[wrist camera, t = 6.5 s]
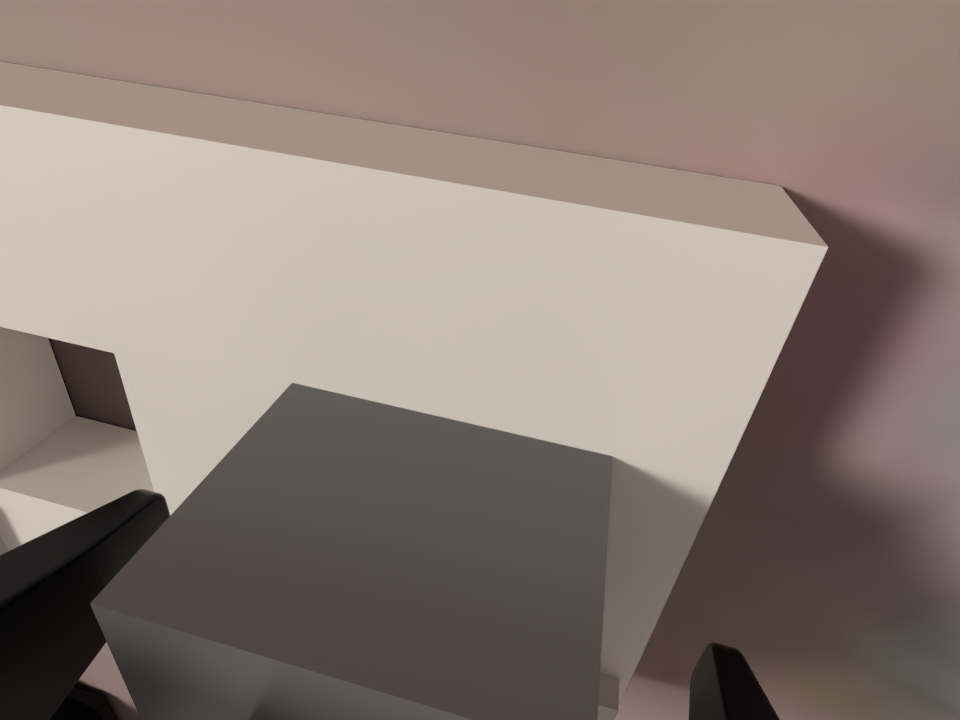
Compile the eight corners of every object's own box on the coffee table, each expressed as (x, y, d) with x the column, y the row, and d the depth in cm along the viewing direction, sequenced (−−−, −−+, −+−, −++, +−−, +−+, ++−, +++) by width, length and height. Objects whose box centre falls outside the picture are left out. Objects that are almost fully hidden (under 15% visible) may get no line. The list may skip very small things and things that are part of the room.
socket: (600, 653, 15) (592, 789, 12) (59, 502, 17) (-43, 590, 14) (781, 186, 8) (844, 267, 6) (-136, 40, 10) (-386, 51, 8)
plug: (567, 548, 13) (509, 992, 7) (360, 495, 14) (153, 861, 8) (617, 365, 10) (590, 840, 4) (357, 312, 11) (36, 661, 5)
